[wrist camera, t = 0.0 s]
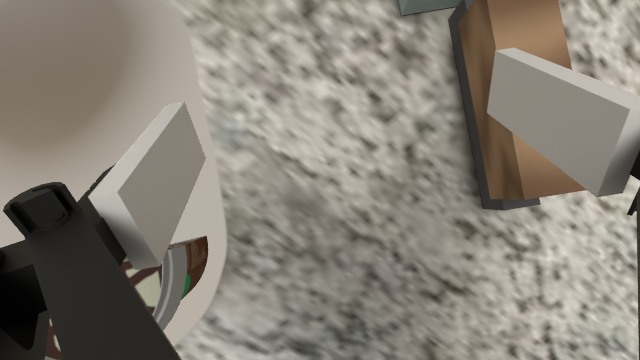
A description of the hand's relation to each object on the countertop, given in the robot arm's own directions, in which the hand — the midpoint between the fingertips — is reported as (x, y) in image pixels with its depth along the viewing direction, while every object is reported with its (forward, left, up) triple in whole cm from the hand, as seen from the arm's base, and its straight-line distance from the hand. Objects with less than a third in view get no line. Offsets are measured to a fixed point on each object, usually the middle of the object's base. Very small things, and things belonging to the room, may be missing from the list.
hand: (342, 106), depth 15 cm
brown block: (+1, -13, -12) cm, 18 cm away
